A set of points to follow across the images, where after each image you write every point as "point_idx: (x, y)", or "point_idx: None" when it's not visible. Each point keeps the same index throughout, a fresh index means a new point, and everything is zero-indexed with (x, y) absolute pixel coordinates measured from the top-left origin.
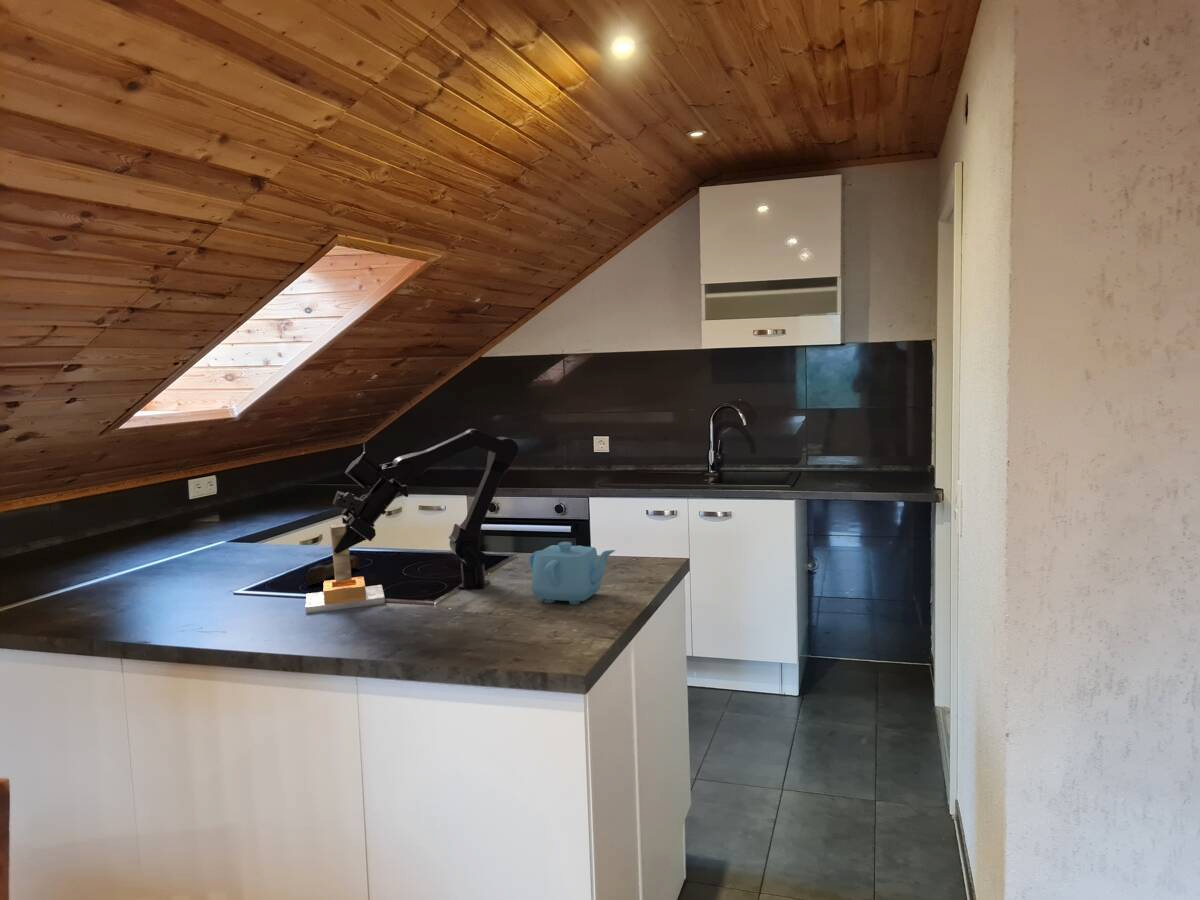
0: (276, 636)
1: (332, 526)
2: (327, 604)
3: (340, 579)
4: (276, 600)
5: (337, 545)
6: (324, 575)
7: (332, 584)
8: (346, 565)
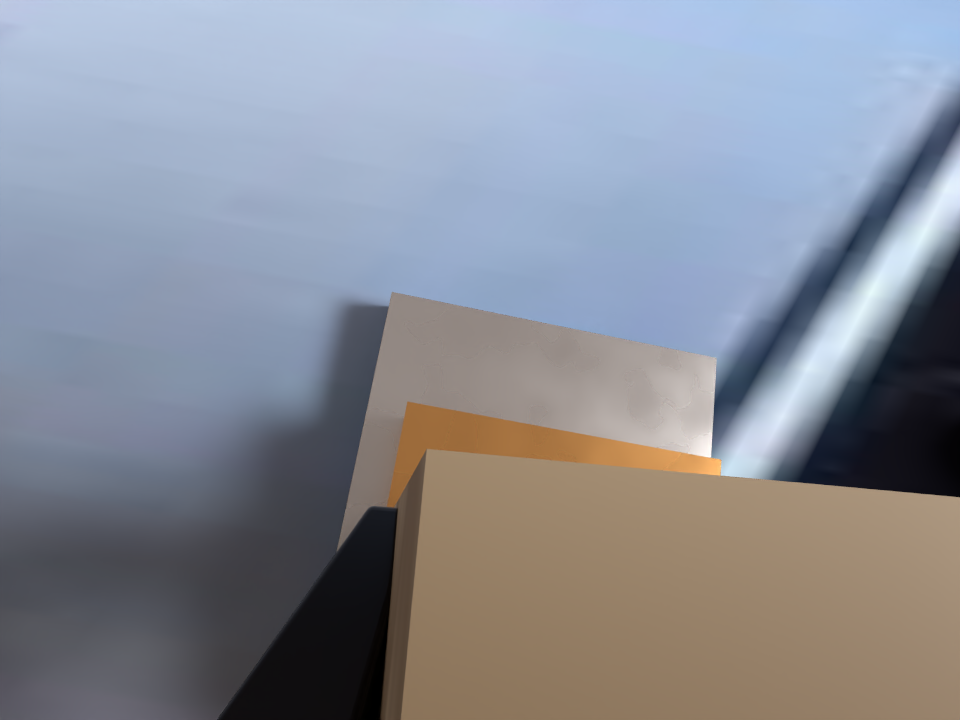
0: (32, 85)
1: (805, 570)
2: (363, 431)
3: None
4: (771, 218)
5: (324, 583)
6: None
7: None
8: None
